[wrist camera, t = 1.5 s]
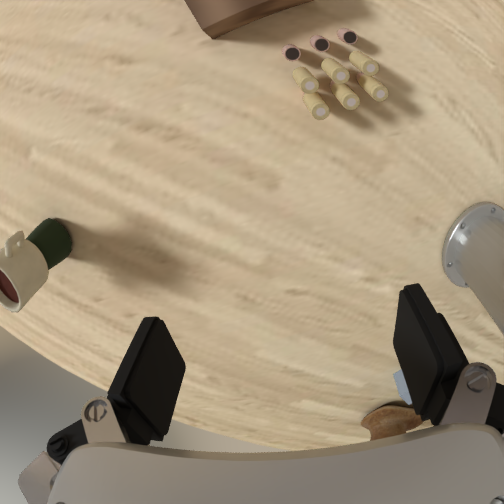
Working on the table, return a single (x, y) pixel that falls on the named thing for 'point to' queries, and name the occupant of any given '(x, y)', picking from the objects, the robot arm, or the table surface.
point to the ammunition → (336, 76)
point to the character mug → (30, 262)
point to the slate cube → (402, 387)
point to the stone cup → (390, 421)
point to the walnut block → (234, 13)
